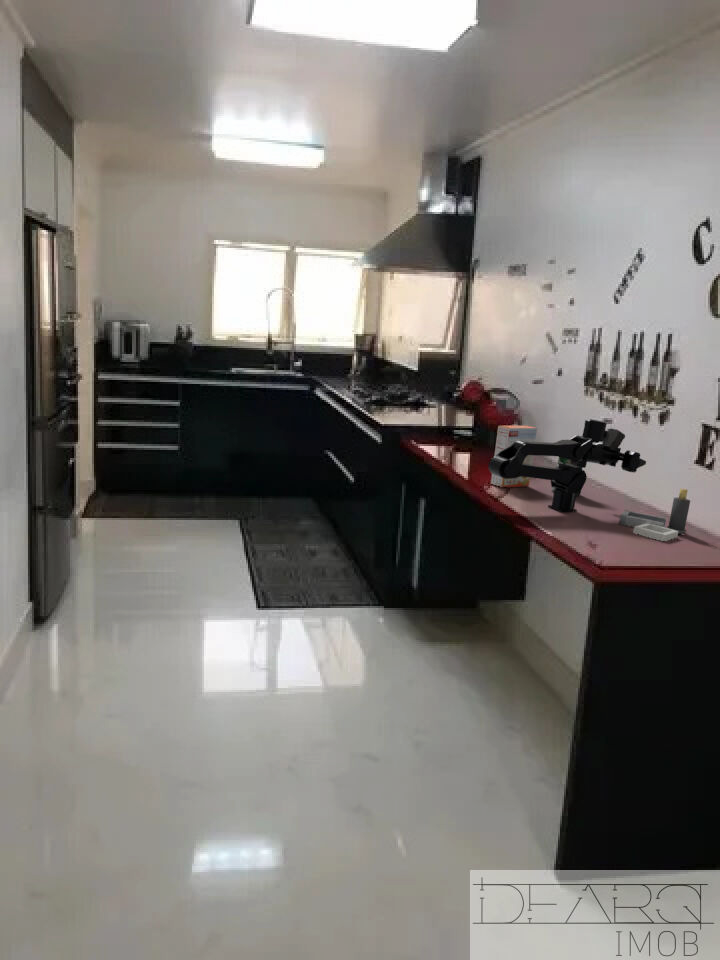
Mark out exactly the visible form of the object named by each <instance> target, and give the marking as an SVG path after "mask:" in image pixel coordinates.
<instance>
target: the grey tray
mask: <svg viewBox="0 0 720 960" xmlns="http://www.w3.org/2000/svg"><path fill="white" fill-rule="evenodd" d="M666 522H667V517H662V516H657V515H653V514H648V513H641V512H638V511H637V512H636V511H632V510H627V509H625V510H624V511H623V512H622V513H621V514H620V519H619V525H621V524H622V526H626V525H627V526H626V527H631V526H632V527H631V528H634V527H635V526H638V525H642V524H646V523H649V524H653V525H657V526H661V527H665V528H666Z"/></svg>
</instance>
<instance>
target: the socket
mask: <svg viewBox="0 0 720 960" xmlns="http://www.w3.org/2000/svg"><path fill="white" fill-rule="evenodd" d="M632 531H633V532H632V533H633V534H634V533H636V534H635V535H637V534H639V535H638V536H641V535H642V536H641V537H644V536H645V537H646V538H648V537H649V538H648V539H652V538H653V540H655V539H656V541H659V540H660V542H663V541H666V542H668V540H669V541H671V540H670V539H672V540H675V539H678V536H679V535H678V531H676V530H672V529H669V528H667V527H666V526H665V527H661V526H657V525H653V524H649V523H646V524H642V525H638V526H635V527H633V530H632ZM674 538H675V539H674Z"/></svg>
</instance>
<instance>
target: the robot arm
mask: <svg viewBox="0 0 720 960" xmlns="http://www.w3.org/2000/svg"><path fill="white" fill-rule="evenodd" d="M607 425H608V422H605V421H601V420H597V419H592V418H590V419H585V420H584V426H583V431H582V435H580V434H575V435H574V436H572V437H571V438H570V439H561V440H558V441H555V442H544V441H538V442H537V441H535V442H527V441H521V440H518V441H516V442H514V443H513V444H512V445H511V446H510V447H508V448H506V449H504V450H502V451H501V452H499V453H498V454H497V455H496V456H493V457H491V458H490V460H489V462H488V471H489V472H490V474H491V475H492V474H495V475H497V476H499V477H502V478H504V479H513V478H518V477H521V476H522V477H530V479H538V480H547V481H550V486H551V488H552V487H555V488H556V489H554V492H553V497H552V500H551V501H552V503H551V504H548V505H547V506H548V508H550V507H551V509H552V510H553V509H554V510H556V511H559V512H565V513H567V512H570V513H571V512H577V511H578V509H576V508H575V505H576V500H577V496H576V493H580V492H581V493H582V490H583V488H584V485H585V484H586V482H587V473H586V471H585V470H584V469H585V468H587V463H594V464H599V465H602V466H611V467H614V468H615V467H616V465H617V464H618V462H619V461H621V465H620V467H621V469H622V471H625V472H630V473H634V474H635V473H636V472H637V471H638V469H640V468H641V467H643V466H645V465H646V464H647V461H646V460H645V459H642V458H641V453H640V452H636V451H634V450H626V451H625V452H624V453H623V452H621V449H622V448H621V447H620V446H621V444H622V443H623V441H624V439H626V435H625V434H624V433H623V432H622V431H620V430H619V429H617V428H612V427H611V428H607ZM528 455H533V456H540V457H541V456H543V457H558V458H559V457H562V458H566V459H569V460H573V461H576V463H577V466H575V465H572V464H569V463H567V464H563V463H560V462H559V466H558V467H557V466H555V467H554V466H553V467H552V466H546V465H545V466H544V465H539V464H533V463H532V464H524V463H523V462H524V460H525V458H526V457H527V456H528ZM514 456H515V457H514ZM512 457H514V458H513V459H512V460H509V459H511V458H512ZM578 466H580V467H578ZM581 467H582V470H581ZM583 468H584V469H583ZM566 484H568V485H566Z"/></svg>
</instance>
